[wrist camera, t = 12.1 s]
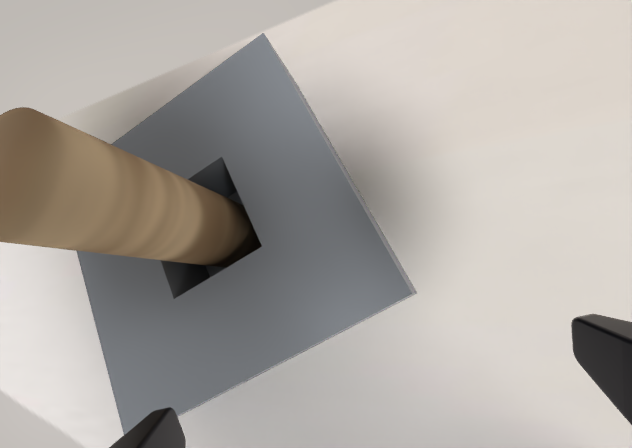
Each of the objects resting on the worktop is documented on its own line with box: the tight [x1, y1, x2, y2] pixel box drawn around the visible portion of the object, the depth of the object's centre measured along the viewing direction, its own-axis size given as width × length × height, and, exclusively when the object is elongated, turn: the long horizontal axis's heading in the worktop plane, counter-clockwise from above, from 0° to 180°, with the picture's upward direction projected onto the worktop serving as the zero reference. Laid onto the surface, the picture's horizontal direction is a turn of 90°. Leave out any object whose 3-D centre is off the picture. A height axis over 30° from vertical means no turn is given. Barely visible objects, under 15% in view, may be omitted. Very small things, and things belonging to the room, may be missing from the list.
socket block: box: [77, 33, 417, 435], centre depth 21 cm, size 16×16×5 cm
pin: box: [0, 108, 262, 268], centre depth 16 cm, size 4×4×13 cm
